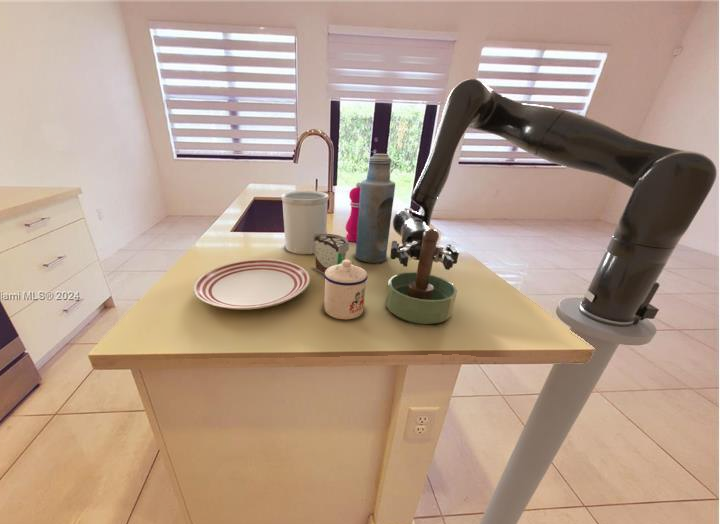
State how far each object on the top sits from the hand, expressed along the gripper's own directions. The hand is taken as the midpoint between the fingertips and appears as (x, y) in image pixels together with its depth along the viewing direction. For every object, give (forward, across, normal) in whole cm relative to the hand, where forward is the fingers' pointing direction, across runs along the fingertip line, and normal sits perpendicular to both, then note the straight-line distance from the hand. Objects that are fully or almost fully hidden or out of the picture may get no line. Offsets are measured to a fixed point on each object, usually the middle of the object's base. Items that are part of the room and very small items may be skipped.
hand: (427, 263), depth 64 cm
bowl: (-1, 0, +12) cm, 12 cm away
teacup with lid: (+1, -16, +12) cm, 20 cm away
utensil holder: (-37, -33, +12) cm, 51 cm away
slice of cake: (-18, -21, +12) cm, 30 cm away
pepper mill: (-50, -17, +12) cm, 54 cm away
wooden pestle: (-1, 0, +11) cm, 11 cm away
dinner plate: (-3, -39, +12) cm, 41 cm away
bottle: (-32, -11, +12) cm, 36 cm away
